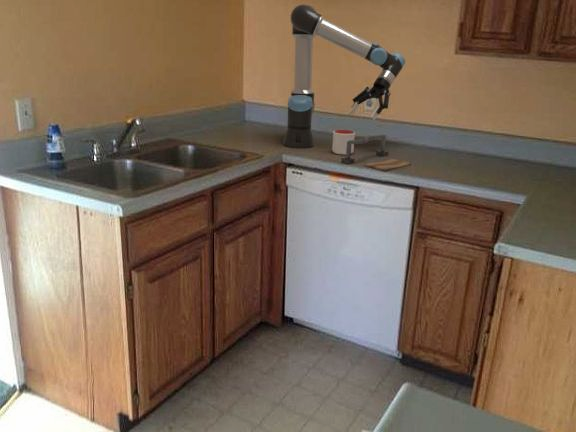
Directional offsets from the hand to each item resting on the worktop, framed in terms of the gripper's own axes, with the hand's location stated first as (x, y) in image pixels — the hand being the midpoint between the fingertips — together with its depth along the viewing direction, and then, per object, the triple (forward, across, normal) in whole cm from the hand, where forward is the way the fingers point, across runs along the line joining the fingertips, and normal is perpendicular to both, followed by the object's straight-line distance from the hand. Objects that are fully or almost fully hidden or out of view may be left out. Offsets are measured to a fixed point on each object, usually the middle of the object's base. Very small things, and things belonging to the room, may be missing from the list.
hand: (361, 116), depth 257 cm
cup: (+20, 0, -4) cm, 20 cm away
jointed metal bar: (+19, -14, -3) cm, 24 cm away
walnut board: (+20, -27, -3) cm, 34 cm away
